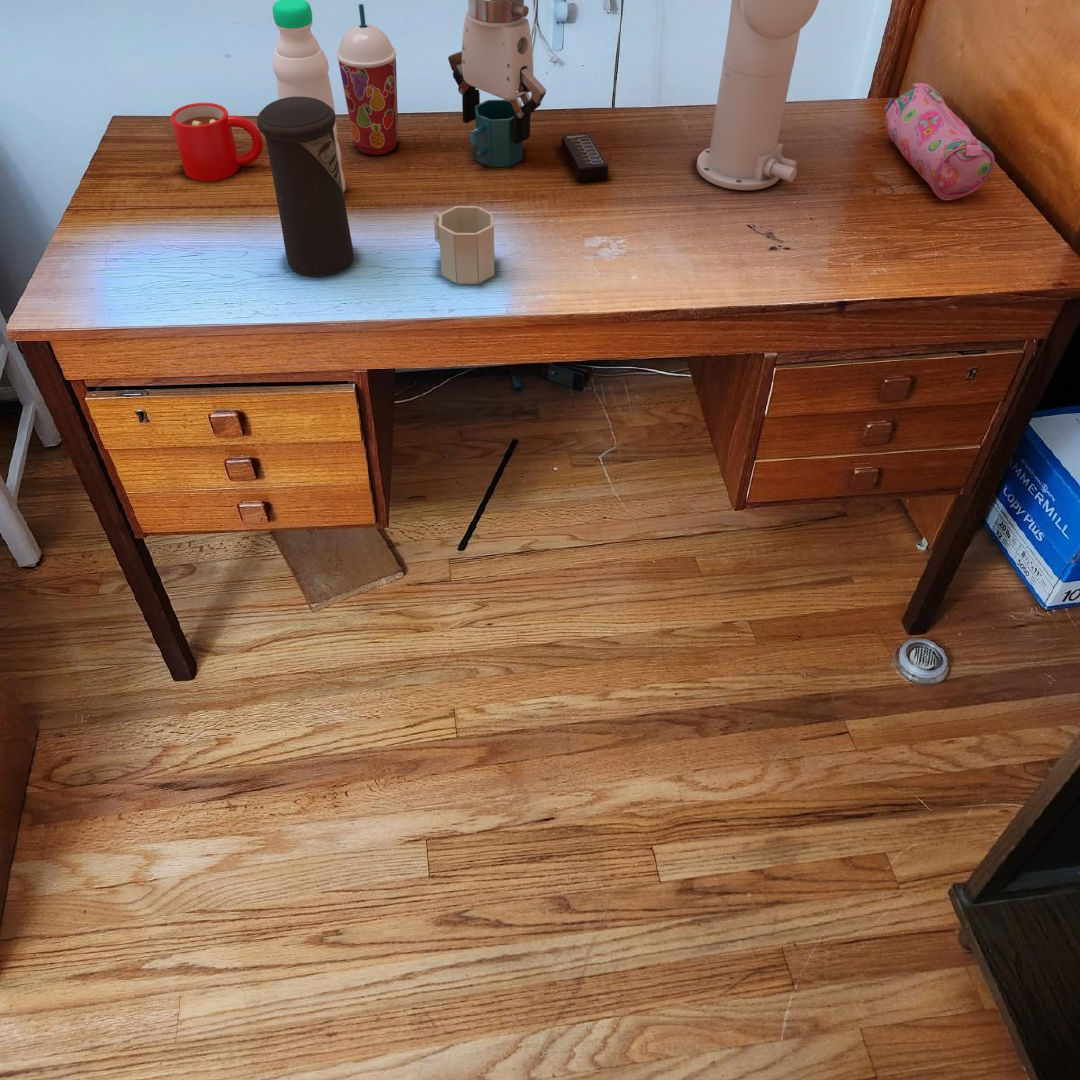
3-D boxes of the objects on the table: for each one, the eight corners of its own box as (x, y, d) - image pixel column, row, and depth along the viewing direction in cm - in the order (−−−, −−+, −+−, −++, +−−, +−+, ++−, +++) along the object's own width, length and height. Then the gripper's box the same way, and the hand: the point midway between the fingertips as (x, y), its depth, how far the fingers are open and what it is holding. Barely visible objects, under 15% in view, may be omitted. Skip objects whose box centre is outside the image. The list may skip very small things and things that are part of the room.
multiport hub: (579, 183, 140) (579, 168, 138) (560, 148, 147) (561, 134, 145) (608, 180, 141) (609, 165, 139) (588, 146, 148) (589, 131, 146)
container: (360, 273, 123) (339, 118, 108) (289, 283, 121) (258, 127, 106) (349, 238, 129) (328, 86, 114) (281, 247, 127) (251, 94, 112)
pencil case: (874, 136, 152) (891, 78, 145) (930, 135, 152) (949, 77, 146) (922, 206, 137) (943, 144, 131) (983, 204, 138) (1007, 143, 131)
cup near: (505, 269, 124) (504, 220, 119) (467, 290, 121) (465, 240, 116) (455, 241, 129) (453, 192, 123) (417, 261, 125) (413, 212, 120)
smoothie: (408, 135, 149) (397, -5, 134) (398, 161, 143) (384, 18, 128) (356, 132, 149) (338, -8, 134) (343, 157, 144) (323, 14, 129)
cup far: (496, 141, 148) (495, 95, 143) (530, 155, 145) (531, 108, 140) (455, 163, 143) (453, 116, 138) (490, 178, 140) (489, 131, 135)
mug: (266, 178, 139) (255, 124, 133) (181, 182, 138) (166, 128, 132) (269, 152, 144) (259, 100, 138) (187, 156, 143) (173, 103, 137)
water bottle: (301, 179, 139) (268, -9, 120) (349, 181, 139) (324, -7, 120) (291, 204, 134) (255, 12, 116) (341, 206, 134) (313, 14, 116)
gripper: (563, 15, 128) (557, 140, 141) (466, -18, 135) (469, 104, 148) (527, 30, 124) (524, 158, 137) (430, -4, 131) (435, 120, 144)
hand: (495, 130), depth 142 cm, fingers open, 9 cm apart
